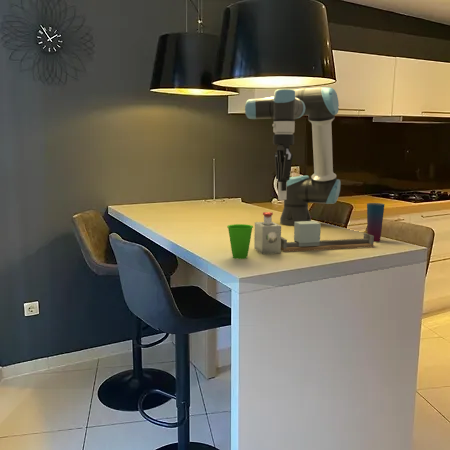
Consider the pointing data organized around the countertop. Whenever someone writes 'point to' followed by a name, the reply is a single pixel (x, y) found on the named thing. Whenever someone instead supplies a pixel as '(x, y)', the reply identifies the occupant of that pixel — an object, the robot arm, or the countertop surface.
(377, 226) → the cup
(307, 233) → the carriage
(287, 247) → the rail
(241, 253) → the cup
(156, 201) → the countertop surface
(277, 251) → the grey push button box
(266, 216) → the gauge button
